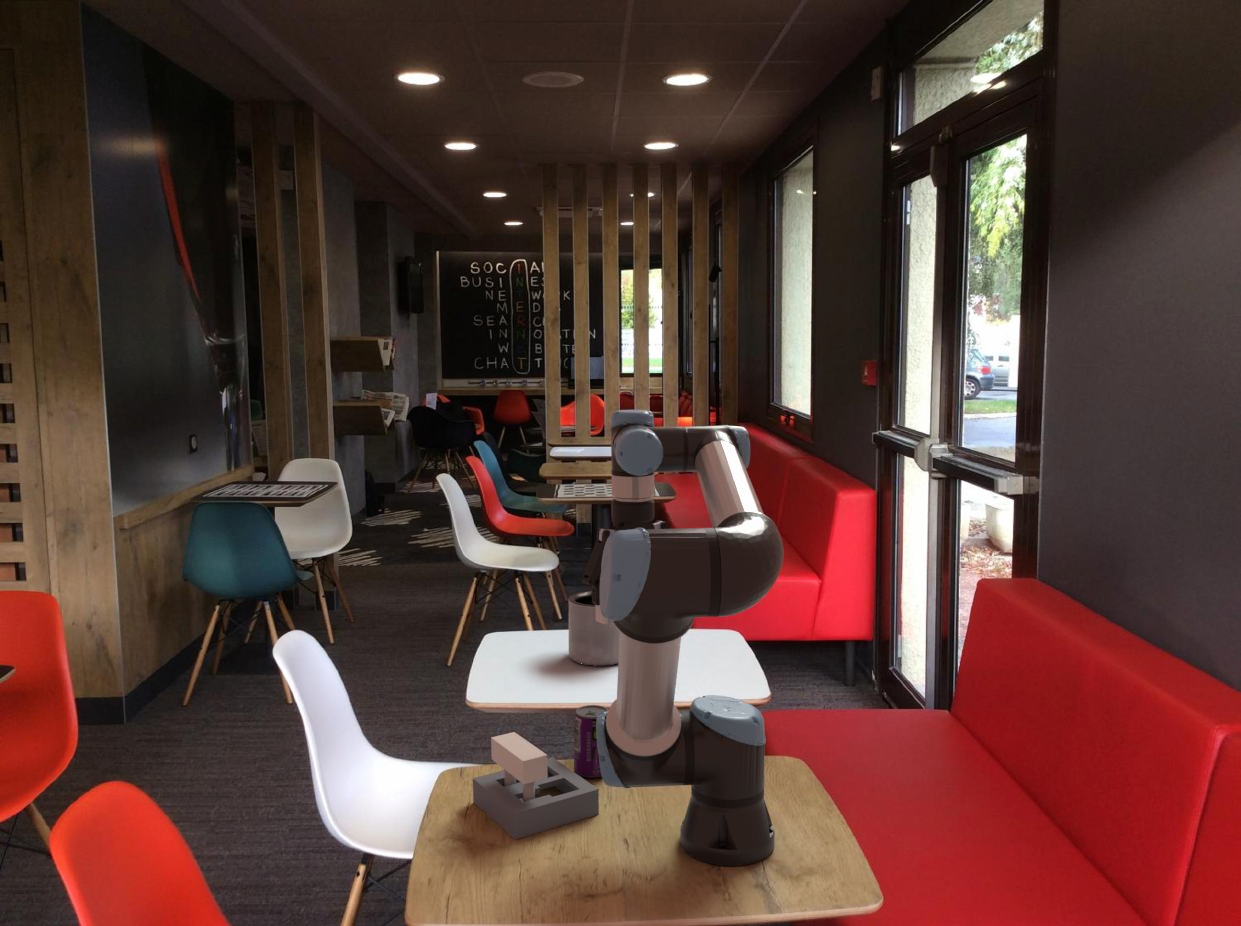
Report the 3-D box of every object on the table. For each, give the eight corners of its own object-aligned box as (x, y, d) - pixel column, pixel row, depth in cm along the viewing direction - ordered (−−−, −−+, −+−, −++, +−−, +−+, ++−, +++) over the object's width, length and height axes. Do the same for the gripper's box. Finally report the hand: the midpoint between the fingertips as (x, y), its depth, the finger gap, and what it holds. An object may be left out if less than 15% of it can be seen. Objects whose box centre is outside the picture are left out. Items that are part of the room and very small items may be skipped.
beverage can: (607, 781, 191) (606, 719, 189) (569, 778, 192) (569, 716, 190) (615, 765, 198) (614, 705, 196) (579, 762, 199) (578, 702, 197)
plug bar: (548, 822, 175) (547, 754, 173) (524, 830, 173) (523, 761, 171) (515, 796, 185) (514, 731, 183) (492, 802, 183) (491, 737, 181)
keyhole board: (553, 780, 191) (552, 757, 191) (598, 814, 178) (598, 789, 177) (473, 802, 183) (472, 778, 182) (515, 839, 169) (514, 813, 169)
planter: (566, 649, 269) (566, 590, 267) (628, 646, 271) (628, 588, 269) (570, 669, 253) (569, 607, 251) (636, 666, 255) (635, 604, 253)
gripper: (676, 488, 192) (676, 600, 195) (560, 502, 178) (562, 622, 181) (702, 494, 186) (701, 609, 189) (584, 508, 172) (585, 632, 175)
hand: (633, 616), depth 185 cm, fingers open, 13 cm apart
